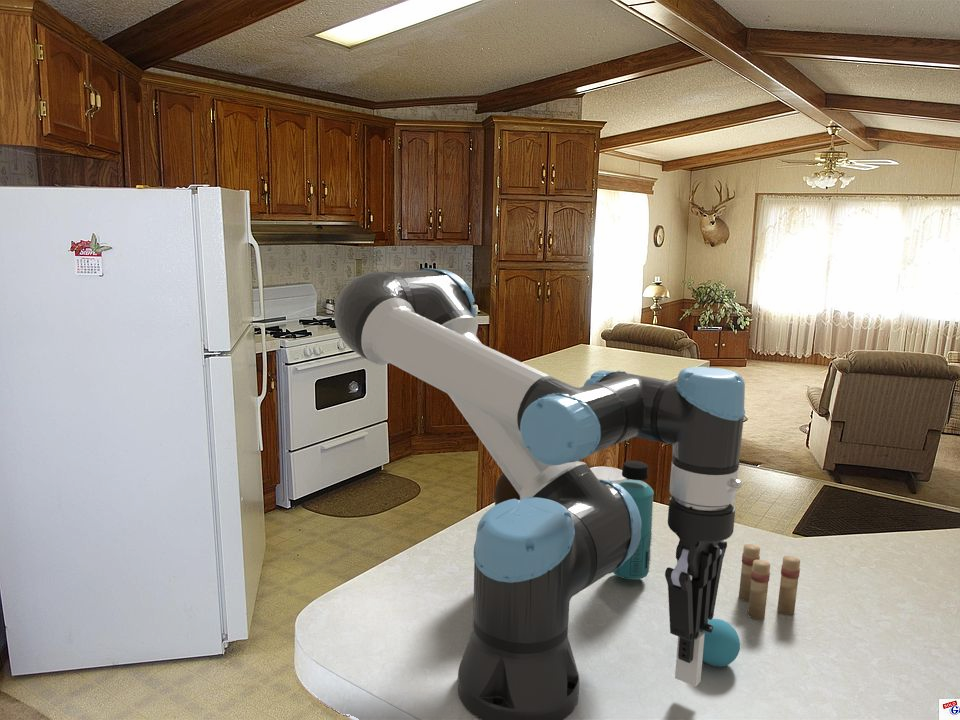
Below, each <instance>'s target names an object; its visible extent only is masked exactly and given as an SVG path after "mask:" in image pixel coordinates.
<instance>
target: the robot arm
mask: <svg viewBox="0 0 960 720" xmlns="http://www.w3.org/2000/svg"><path fill="white" fill-rule="evenodd" d="M335 301H336V302H335V305H334V310H333V311H334V315H333V316H334V324H335V327H336V328H335V329H336V330H337V334H338V336H339V337H340V339H341V341H343V342H344V344H346V346H347V347H348V348H349V349H350V350H351V351H353V352H355V353H356V354H357V355H358V356H361V357H362V358H364V359H366V360H367V361H370V362H371V363H373V364H375V365H378V366H379V365H389V364H391V365H393V366H395V367H397V368H398V369H400V370H402V371H404V372H406V373H408V374H410V375H411V376H414V377H415V378H417V379H419V380H421V381H423V382H424V383H427V384H428V385H430V386H433V387H434V388H436V389H438V390H439V391H442V392H443V393H446V394H447V395H448V396H449V398H450V399H451V400H452V402H453V403H454V405H455V406H456V408H457V409H458V411H459V412H460V413H461V414H462V416H463V418H464V420H466V422H467V423H468V425H469V426H470V427H471V429H472V430H473V432H474V433H475V435H476V436H477V437H478V439H479V440H480V441H481V443H482V444H483V445H484V446H483V447H485V449H486V450H487V451H488V453H489V454H490V456H491V457H492V459H493V460H494V462H495V463H496V464H497V465H498V468H500V469H501V471H502V473H504V474H505V475H506V477H507V478H508V480H509V481H510V482H511V484H512V485H513V487H514V488H515V490H516V491H517V492H518V494H519V495H520V500H517V499H511V500H507V501H504V502H501V503H499V504H497V505H495V504H494V505H493V506H492V507H490V508H489V509H488V510H487V511H486V512H485V513H484V514H483V515H482V516H481V518H480V519H479V521H478V523H477V526H476V536H475V542H474V544H473V545H474V546H473V559H474V560H473V561H474V565H473V566H474V567H473V568H474V572H473V575H474V576H473V623H472V624H473V625H472V626H473V627H472V628H473V630H472V632H471V635H470V637H469V640H468V642H467V645H466V647H465V651H464V653H463V656H462V659H461V661H460V662H459V663H460V664H459V667H458V670H457V671H458V672H457V693H458V694H457V695H458V697H459V700H460V701H461V704H462V706H464V707H465V708H466V710H467V711H468V712H470V713H471V714H472V715H473V716H474V717H475V718H478V719H479V720H565V719H567V717H568V716H570V715H571V714H572V713H573V712H574V710H575V709H576V707H577V704H578V703H579V697H580V696H579V695H580V674H579V670H578V666H577V664H576V660H575V657H574V655H573V650H572V647H571V643H570V640H569V636H568V634H569V632H568V631H569V619H570V618H569V617H570V614H569V613H570V601H571V599H572V598H573V597H574V596H576V595H578V594H579V593H581V591H584V590H585V589H586V588H588V587H590V586H591V585H592V584H594V583H596V582H597V581H599V580H601V579H602V578H604V577H606V576H607V575H609V574H612V573H613V572H614V571H616V570H617V569H618V568H619V567H621V566H622V565H623V564H624V562H625V561H627V560H628V559H629V558H630V557H631V556H632V555H633V554H634V552H635V551H636V549H637V547H638V545H639V542H640V538H641V518H640V514H639V511H638V508H637V505H636V503H635V502H634V500H633V498H632V497H631V495H630V494H629V493H628V492H627V491H626V490H625V489H624V488H623V487H622V486H620V485H619V484H617V483H615V482H609V481H608V480H602V479H601V480H598V479H597V477H596V476H595V475H594V473H593V472H592V471H591V469H590V468H591V467H589V466H588V464H587V463H586V462H584V461H580V460H584V459H586V458H587V457H589V456H591V455H592V454H595V453H598V452H600V451H602V450H604V449H607V448H608V447H612V446H614V445H617V444H620V443H623V442H624V441H627V440H629V439H632V438H640V439H644V440H649V441H653V442H658V443H662V444H671V445H672V458H671V467H670V479H669V480H670V481H669V494H670V495H671V496H670V498H669V499H668V500H669V501H668V510H667V511H668V514H667V526H668V528H669V529H670V530H671V531H672V532H673V533H674V534H676V535H677V537H678V538H679V540H678V544H677V546H676V548H675V549H676V550H675V559H676V565H675V566H674V568H672V567H666V569H665V571H664V576H665V580H666V583H667V590H668V591H667V593H668V595H667V596H668V613H669V614H668V615H669V632H670V634H671V635H673V636H677V645H676V646H677V647H676V648H677V649H676V661H675V673H674V679H677V680H679V681H682V682H683V683H685V684H687V685H690V686H692V687H697V686H698V685H699V684H700V683H701V681H702V679H701V678H702V670H703V669H702V668H703V660H702V659H703V647H704V635H705V633H703V630H704V631H707V632H709V633H711V632H712V630H713V626H712V625H709V624H708V619H709V620H711V619H713V618H714V615H715V614H714V613H715V608H716V604H717V603H716V601H717V597H718V596H717V595H718V589H719V585H720V580H721V579H720V578H721V574H722V573H721V572H722V567H723V561H724V557H725V555H726V551H727V547H728V542H727V540H728V539H729V538H730V537H731V536H732V535H733V533H734V529H735V519H736V518H735V517H736V506H735V505H734V503H735V502H736V499H737V489H741V487H742V481H741V480H740V479H738V477H739V467H740V457H741V446H742V437H743V428H744V427H743V426H744V419H745V417H746V410H745V397H746V395H745V392H746V389H745V388H746V384H745V380H744V378H743V377H742V375H740V374H739V373H737V372H735V371H734V370H730V369H727V368H721V367H720V368H719V367H708V366H690V367H685V368H683V369H681V370H680V371H679V372H678V375H677V379H676V380H675V381H673V380H667V379H660V378H656V377H649V376H644V375H640V374H635V373H633V374H632V373H629V372H626V371H623V370H616V371H615V370H614V371H613V370H612V371H611V370H603V369H601V370H597V371H594V372H593V373H592V374H591V375H590V377H589V378H588V379H586V380H585V382H584V384H583V386H581V387H578V386H575V385H574V386H573V385H571V384H569V383H566V382H565V381H562V380H559V379H558V378H555V377H554V376H551V375H550V374H547V373H545V372H544V371H543V372H542V371H540V370H538V369H537V368H534V367H532V366H530V365H528V364H526V363H523V362H521V361H520V360H517V359H515V358H513V357H511V356H508V355H507V354H504V353H502V352H500V351H498V350H496V349H493V348H491V347H489V346H488V345H487V346H486V344H483V343H482V342H481V341H480V339H479V338H478V336H477V334H478V333H477V332H478V329H479V328H478V327H479V322H478V321H477V319H476V313H477V311H476V309H477V308H476V307H474V303H475V298H474V295H473V293H472V290H471V288H470V287H469V286H468V284H467V283H466V282H465V280H464V279H462V278H461V277H460V276H459V275H457V274H456V273H454V272H451V271H449V270H446V269H436V268H431V267H429V268H428V267H425V268H424V267H423V268H420V269H419V268H418V269H416V270H394V271H389V270H388V271H371V272H370V271H369V272H367V273H364V274H361V275H360V274H359V276H357V277H354V278H352V279H351V280H350V281H349V282H348V283H347V284H346V285H345V286H344V287H343V288H342V290H341V291H340V292H339V294H338V296H337V298H336V300H335Z"/></svg>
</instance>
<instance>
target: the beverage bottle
mask: <svg viewBox="0 0 960 720" xmlns="http://www.w3.org/2000/svg"><path fill="white" fill-rule="evenodd" d="M622 464H623V465H622V469H621V470H622V476H623V477H625V478H627V480H624V481H622V482H621V483H619V485H620V486H622V487H623V488H624V489H625V490H626V491H627V492H628V493H629V494H630V495H631V497H632V498H633V500H634V502H635V503H636V505H637V508H638V511H639V514H640V518H641V538H640V542H639V545H638V547H637V549H636V551H635V552H634V554H633V555H632V556H631V557H630V558H629V559H628V560H627V561H625V562H624V564H623V565H622V566H621V567H619V568H618V569H617V570H616V571H614V572H612V573H613V574H614V575H616V576H617V577H619V578H623V579H627V580H641V579H644V578H646V577H647V576H648V574H649V572H650V570H651V569H650V568H651V567H650V566H651V563H650V562H651V558H652V557H651V555H652V554H651V548H652V543H653V541H652V540H653V537H652V534H653V531H652V529H653V508H654V507H653V506H654V505H653V503H654V495H655V492H654V489H653V488H652V487H651V486H650V484H648V483H646V482H645V481H643V480H646V479H648V478H649V467H648V464H647V463H645V462H643V461H639V460H627V461H625V462H624V463H622Z"/></svg>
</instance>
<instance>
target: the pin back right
mask: <svg viewBox="0 0 960 720" xmlns="http://www.w3.org/2000/svg"><path fill="white" fill-rule="evenodd" d="M780 568H781V569H780V583H779V589H778V590H779V592H778V601H777V611H778V613H780V614H783V615H786V616H791V615H794V614H795V608H796V602H797V601H796V600H797V594H798V593H797V592H798V585H799V584H798V583H799V578H800V571H801V560H800V559H799V557H796V556H793V555H784V556H783V557H782V564H781V567H780Z"/></svg>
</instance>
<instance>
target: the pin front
mask: <svg viewBox="0 0 960 720" xmlns="http://www.w3.org/2000/svg"><path fill="white" fill-rule="evenodd" d="M770 575H771V563H770V562H769V561H767V560H763V559H760V560H754V561H753V568H752V572H751V587H750V597H749V601H748V605H747V606H748V608H747V616H748V617H749V618H752V619H753V620H759V621H761V620H764V619H765V617H766V609H767V599H768V598H767V597H768V589H769V582H770V579H771V578H770V577H771V576H770Z"/></svg>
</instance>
